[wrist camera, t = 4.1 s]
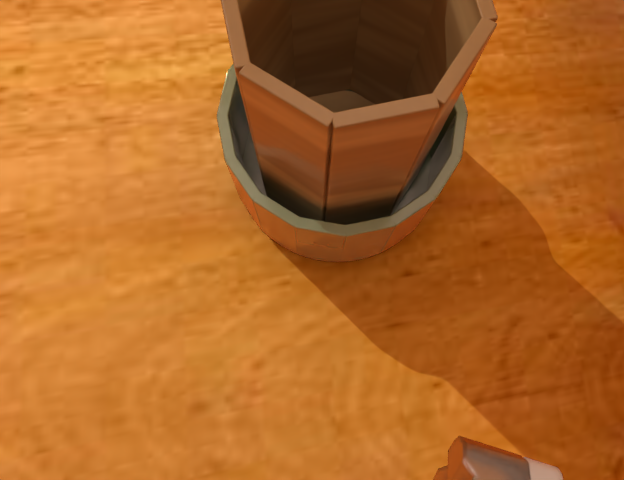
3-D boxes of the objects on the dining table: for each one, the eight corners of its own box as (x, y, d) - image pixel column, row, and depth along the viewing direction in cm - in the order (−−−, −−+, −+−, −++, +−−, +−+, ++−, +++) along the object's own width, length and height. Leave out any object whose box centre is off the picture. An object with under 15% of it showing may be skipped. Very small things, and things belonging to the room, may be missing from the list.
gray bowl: (472, 136, 26) (510, 80, 21) (368, 302, 24) (383, 283, 19) (307, 40, 27) (306, -35, 22) (196, 192, 25) (169, 147, 20)
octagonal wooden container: (440, 139, 25) (537, -38, 14) (361, 263, 24) (401, 172, 13) (314, 64, 26) (317, -155, 15) (231, 181, 25) (169, 31, 14)
